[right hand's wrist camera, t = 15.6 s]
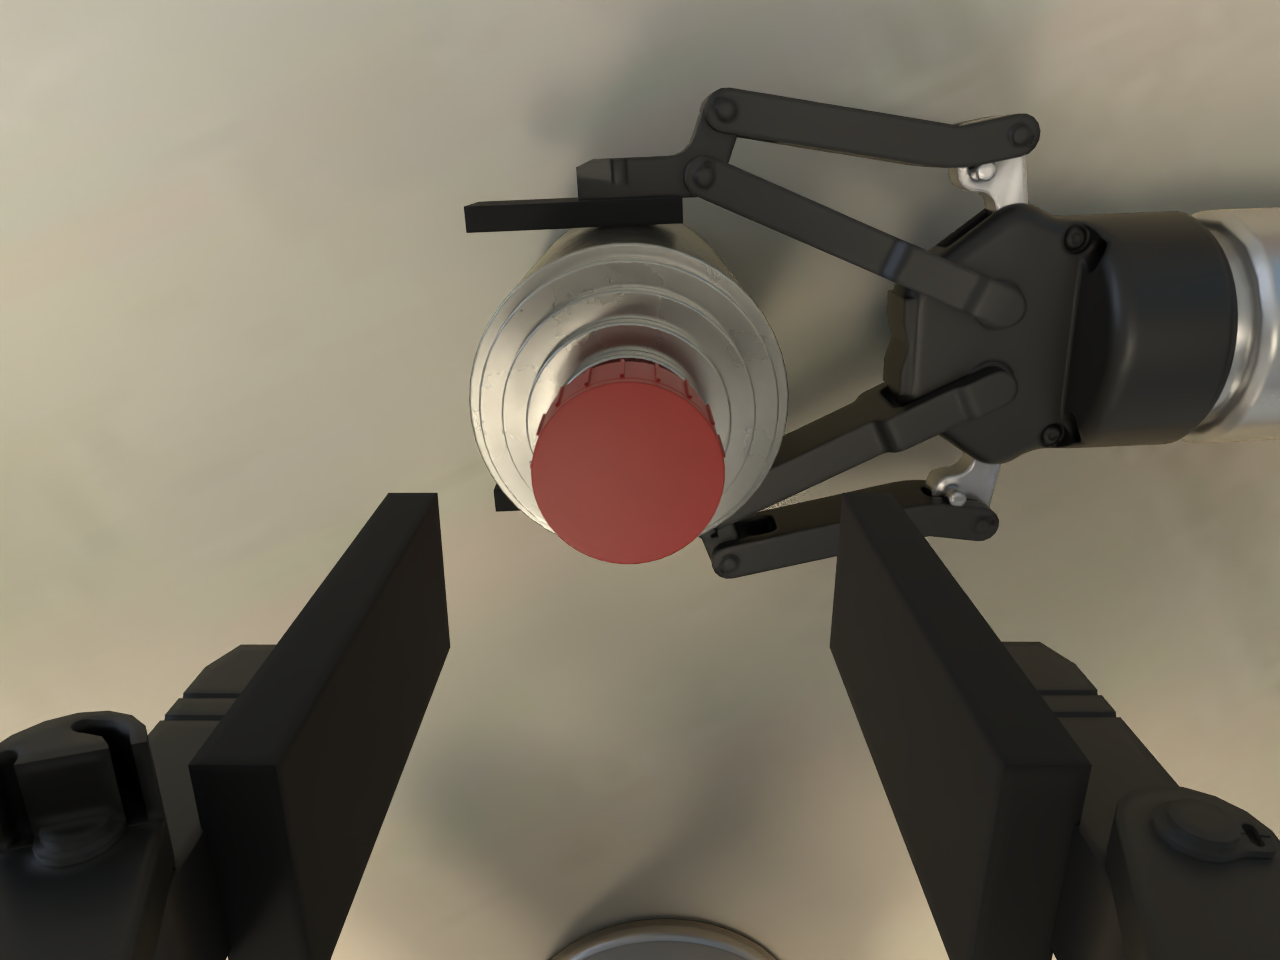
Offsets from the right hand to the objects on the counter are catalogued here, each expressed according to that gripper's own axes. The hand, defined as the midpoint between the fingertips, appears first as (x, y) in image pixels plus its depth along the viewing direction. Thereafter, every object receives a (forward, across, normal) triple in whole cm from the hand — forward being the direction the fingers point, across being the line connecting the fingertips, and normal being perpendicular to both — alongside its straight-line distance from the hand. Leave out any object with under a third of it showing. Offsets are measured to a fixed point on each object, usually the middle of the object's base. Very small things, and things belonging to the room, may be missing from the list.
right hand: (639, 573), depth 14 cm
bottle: (+23, 0, 0) cm, 23 cm away
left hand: (+16, -5, 0) cm, 17 cm away
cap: (+5, 0, 0) cm, 5 cm away
